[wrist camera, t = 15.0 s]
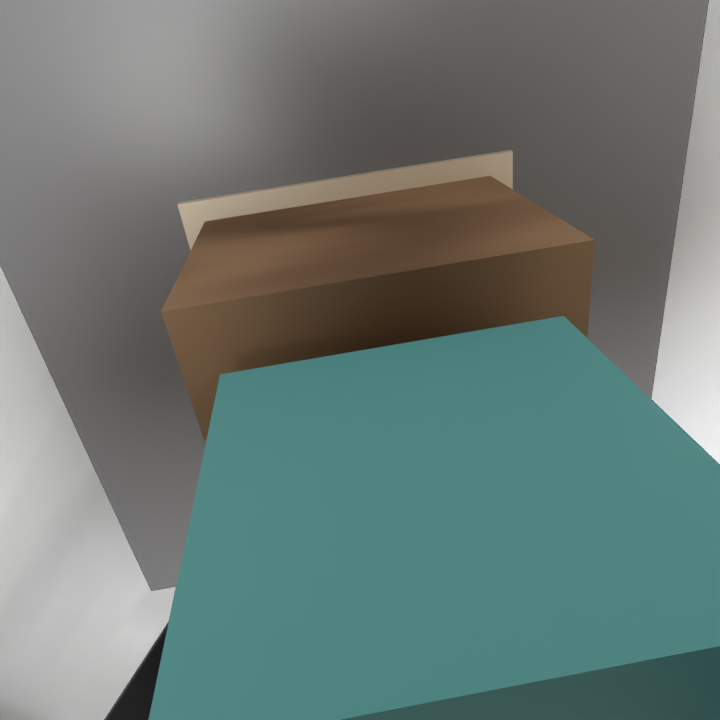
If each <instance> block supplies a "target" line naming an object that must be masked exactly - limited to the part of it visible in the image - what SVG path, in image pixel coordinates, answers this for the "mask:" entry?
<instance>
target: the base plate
mask: <svg viewBox="0 0 720 720" xmlns="http://www.w3.org/2000/svg"><path fill="white" fill-rule="evenodd" d="M708 2H709V0H0V266H1V268H2V270H3V272H4V275H5V277H6V279H7V281H8V283H9V285H10V288H11V290H12V292H13V294H14V296H15V298H16V300H17V303H18V305H19V307H20V309H21V311H22V313H23V316H24V318H25V320H26V322H27V324H28V326H29V329H30V331H31V333H32V335H33V337H34V339H35V341H36V344H37V346H38V348H39V350H40V352H41V354H42V357H43V359H44V361H45V363H46V365H47V367H48V370H49V372H50V374H51V376H52V378H53V380H54V382H55V385H56V387H57V389H58V391H59V393H60V395H61V398H62V400H63V402H64V404H65V406H66V408H67V411H68V413H69V415H70V417H71V419H72V421H73V423H74V426H75V428H76V430H77V432H78V434H79V436H80V439H81V441H82V443H83V445H84V447H85V449H86V451H87V454H88V456H89V458H90V460H91V462H92V464H93V467H94V469H95V471H96V473H97V475H98V477H99V480H100V482H101V484H102V486H103V488H104V490H105V492H106V495H107V497H108V499H109V501H110V503H111V505H112V508H113V510H114V512H115V514H116V516H117V518H118V521H119V523H120V525H121V527H122V529H123V531H124V533H125V536H126V538H127V540H128V542H129V544H130V546H131V549H132V551H133V553H134V555H135V557H136V559H137V562H138V564H139V566H140V568H141V570H142V572H143V574H144V577H145V579H146V581H147V583H148V585H149V587H150V590H151V591H154V590H159V589H165V588H170V587H176V585H177V580H178V575H179V570H180V566H181V561H182V556H183V551H184V546H185V541H186V537H187V532H188V527H189V522H190V517H191V513H192V508H193V503H194V498H195V493H196V488H197V484H198V479H199V474H200V469H201V464H202V459H203V455H204V450H205V442H204V439H203V436H202V433H201V430H200V427H199V424H198V421H197V418H196V415H195V412H194V409H193V406H192V403H191V400H190V397H189V394H188V391H187V388H186V385H185V382H184V379H183V376H182V373H181V370H180V367H179V364H178V361H177V358H176V355H175V352H174V349H173V346H172V343H171V340H170V337H169V334H168V331H167V328H166V325H165V322H164V319H163V316H162V313H161V310H162V308H163V306H164V304H165V302H166V300H167V298H168V296H169V294H170V292H171V290H172V288H173V286H174V284H175V282H176V280H177V278H178V276H179V273H180V271H181V269H182V267H183V265H184V263H185V261H186V259H187V257H188V255H189V253H190V251H191V249H192V247H193V245H194V243H195V241H196V238H197V236H198V234H199V232H200V230H201V228H202V226H203V224H204V222H205V221H211V220H217V219H223V218H229V217H236V216H242V215H248V214H254V213H261V212H267V211H273V210H279V209H286V208H292V207H298V206H304V205H311V204H317V203H323V202H330V201H336V200H342V199H348V198H355V197H361V196H367V195H373V194H380V193H386V192H392V191H398V190H405V189H411V188H417V187H423V186H430V185H436V184H442V183H448V182H455V181H461V180H467V179H473V178H480V177H486V176H492V177H493V178H495V179H496V180H498V181H500V182H501V183H503V184H505V185H506V186H508V187H510V188H511V189H513V190H514V191H516V192H518V193H519V194H521V195H523V196H524V197H526V198H527V199H529V200H531V201H532V202H534V203H536V204H537V205H539V206H540V207H542V208H544V209H545V210H547V211H549V212H550V213H552V214H553V215H555V216H557V217H558V218H560V219H562V220H563V221H565V222H566V223H568V224H570V225H571V226H573V227H575V228H576V229H578V230H580V231H581V232H583V233H584V234H586V235H588V236H589V237H591V238H593V239H594V240H595V243H594V257H593V270H592V284H591V297H590V311H589V324H588V339H589V340H590V341H591V342H592V343H593V344H594V345H595V346H596V347H597V348H598V349H599V350H600V351H601V352H602V353H603V354H604V355H605V356H606V357H607V358H609V359H610V360H611V361H612V362H613V363H614V364H615V365H616V366H617V367H618V368H619V369H620V370H621V371H622V372H623V373H624V374H625V375H626V376H627V377H628V378H629V379H631V380H632V381H633V382H634V383H635V384H636V385H637V386H638V387H639V388H640V389H641V390H642V391H643V392H644V393H645V394H646V395H647V396H648V397H649V398H650V399H651V397H652V390H653V383H654V377H655V370H656V363H657V356H658V349H659V342H660V335H661V328H662V321H663V314H664V307H665V300H666V293H667V286H668V279H669V272H670V265H671V259H672V252H673V245H674V238H675V231H676V224H677V217H678V210H679V203H680V196H681V189H682V182H683V175H684V168H685V161H686V154H687V147H688V141H689V134H690V127H691V120H692V113H693V106H694V99H695V92H696V85H697V78H698V71H699V64H700V57H701V50H702V43H703V36H704V29H705V23H706V16H707V9H708Z"/></svg>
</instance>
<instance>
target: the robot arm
mask: <svg viewBox="0 0 720 720" xmlns="http://www.w3.org/2000/svg"><path fill="white" fill-rule="evenodd" d="M168 623H169V622H168ZM168 623H167V625H166V626H165V628H164V629H163V631H162V632H161V634H160V635H159V637H158V638H157V640H156V642H155V643H154V645H153V646H152V648H151V649H150V651H149V652H148V654H147V655H146V657H145V658H144V660H143V661H142V663H141V664H140V666H139V667H138V669H137V671H136V672H135V674H134V675H133V677H132V678H131V680H130V681H129V683H128V684H127V686H126V687H125V689H124V690H123V692H122V693H121V695H120V697H119V698H118V700H117V701H116V703H115V704H114V706H113V707H112V709H111V710H110V712H109V713H108V715H107V716H106V718H105V719H104V720H149V715H150V710H151V705H152V701H153V696H154V691H155V686H156V681H157V677H158V672H159V667H160V662H161V657H162V652H163V648H164V643H165V638H166V633H167V628H168Z"/></svg>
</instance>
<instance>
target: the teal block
mask: <svg viewBox="0 0 720 720" xmlns="http://www.w3.org/2000/svg"><path fill="white" fill-rule="evenodd" d="M149 720H720V464H719V463H718V462H717V461H716V460H714V459H713V458H712V457H711V456H710V455H709V454H708V453H707V452H706V451H705V450H704V449H703V448H702V447H701V446H700V445H699V444H698V443H697V442H696V441H695V440H693V439H692V438H691V437H690V436H689V435H688V434H687V433H686V432H685V431H684V430H683V429H682V428H681V427H680V426H679V425H678V424H677V423H676V422H675V421H674V420H673V419H671V418H670V417H669V416H668V415H667V414H666V413H665V412H664V411H663V410H662V409H661V408H660V407H659V406H658V405H657V404H656V403H655V402H654V401H653V400H652V399H650V398H649V397H648V396H647V395H646V394H645V393H644V392H643V391H642V390H641V389H640V388H639V387H638V386H637V385H636V384H635V383H634V382H633V381H632V380H631V379H629V378H628V377H627V376H626V375H625V374H624V373H623V372H622V371H621V370H620V369H619V368H618V367H617V366H616V365H615V364H614V363H613V362H612V361H611V360H610V359H609V358H607V357H606V356H605V355H604V354H603V353H602V352H601V351H600V350H599V349H598V348H597V347H596V346H595V345H594V344H593V343H592V342H591V341H590V340H589V339H588V338H586V337H585V336H584V335H583V334H582V333H581V332H580V331H579V330H578V329H577V328H576V327H575V326H574V325H573V324H572V323H571V322H570V321H569V320H568V319H567V318H566V317H564V316H559V317H554V318H548V319H542V320H536V321H530V322H524V323H518V324H513V325H507V326H501V327H495V328H489V329H483V330H477V331H472V332H466V333H460V334H454V335H448V336H442V337H436V338H431V339H425V340H419V341H413V342H407V343H401V344H395V345H390V346H384V347H378V348H372V349H366V350H360V351H354V352H349V353H343V354H337V355H331V356H325V357H319V358H313V359H308V360H302V361H296V362H290V363H284V364H278V365H272V366H267V367H261V368H255V369H249V370H243V371H237V372H231V373H226V374H220V378H219V382H218V387H217V392H216V397H215V402H214V406H213V411H212V416H211V421H210V426H209V431H208V435H207V440H206V445H205V450H204V455H203V459H202V464H201V469H200V474H199V479H198V484H197V488H196V493H195V498H194V503H193V508H192V513H191V517H190V522H189V527H188V532H187V537H186V541H185V546H184V551H183V556H182V561H181V566H180V570H179V575H178V580H177V585H176V590H175V595H174V599H173V604H172V609H171V614H170V619H169V623H168V628H167V633H166V638H165V643H164V648H163V652H162V657H161V662H160V667H159V672H158V677H157V681H156V686H155V691H154V696H153V701H152V705H151V710H150V715H149Z"/></svg>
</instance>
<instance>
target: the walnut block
mask: <svg viewBox="0 0 720 720" xmlns="http://www.w3.org/2000/svg"><path fill="white" fill-rule="evenodd" d="M594 243H595V240H594V239H593V238H591V237H589V236H588V235H586V234H584V233H583V232H581V231H580V230H578V229H576V228H575V227H573V226H571V225H570V224H568V223H566V222H565V221H563V220H562V219H560V218H558V217H557V216H555V215H553V214H552V213H550V212H549V211H547V210H545V209H544V208H542V207H540V206H539V205H537V204H536V203H534V202H532V201H531V200H529V199H527V198H526V197H524V196H523V195H521V194H519V193H518V192H516V191H514V190H513V189H511V188H510V187H508V186H506V185H505V184H503V183H501V182H500V181H498V180H496V179H495V178H493V177H492V176H486V177H480V178H473V179H467V180H461V181H455V182H448V183H442V184H436V185H430V186H423V187H417V188H411V189H405V190H398V191H392V192H386V193H380V194H373V195H367V196H361V197H355V198H348V199H342V200H336V201H330V202H323V203H317V204H311V205H304V206H298V207H292V208H286V209H279V210H273V211H267V212H261V213H254V214H248V215H242V216H236V217H229V218H223V219H217V220H211V221H205V222H204V224H203V226H202V228H201V230H200V232H199V234H198V236H197V238H196V241H195V243H194V245H193V247H192V249H191V251H190V253H189V255H188V257H187V259H186V261H185V263H184V265H183V267H182V269H181V271H180V273H179V276H178V278H177V280H176V282H175V284H174V286H173V288H172V290H171V292H170V294H169V296H168V298H167V300H166V302H165V304H164V306H163V308H162V310H161V313H162V316H163V319H164V322H165V325H166V328H167V331H168V334H169V337H170V340H171V343H172V346H173V349H174V352H175V355H176V358H177V361H178V364H179V367H180V370H181V373H182V376H183V379H184V382H185V385H186V388H187V391H188V394H189V397H190V400H191V403H192V406H193V409H194V412H195V415H196V418H197V421H198V424H199V427H200V430H201V433H202V436H203V439H204V442H205V445H206V440H207V435H208V431H209V426H210V421H211V416H212V411H213V406H214V402H215V397H216V392H217V387H218V382H219V378H220V374H226V373H231V372H237V371H243V370H249V369H255V368H261V367H267V366H272V365H278V364H284V363H290V362H296V361H302V360H308V359H313V358H319V357H325V356H331V355H337V354H343V353H349V352H354V351H360V350H366V349H372V348H378V347H384V346H390V345H395V344H401V343H407V342H413V341H419V340H425V339H431V338H436V337H442V336H448V335H454V334H460V333H466V332H472V331H477V330H483V329H489V328H495V327H501V326H507V325H513V324H518V323H524V322H530V321H536V320H542V319H548V318H554V317H559V316H564V317H566V318H567V319H568V320H569V321H570V322H571V323H572V324H573V325H574V326H575V327H576V328H577V329H578V330H579V331H580V332H581V333H582V334H583V335H584V336H585V337H586V338H588V324H589V311H590V297H591V284H592V270H593V257H594Z"/></svg>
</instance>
